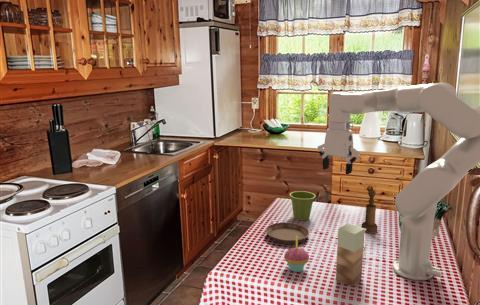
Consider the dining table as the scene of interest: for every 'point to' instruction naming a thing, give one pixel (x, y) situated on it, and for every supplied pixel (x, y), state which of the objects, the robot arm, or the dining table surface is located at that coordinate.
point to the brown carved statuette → (370, 214)
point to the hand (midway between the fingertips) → (336, 171)
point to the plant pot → (302, 204)
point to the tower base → (348, 274)
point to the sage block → (351, 237)
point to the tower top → (349, 257)
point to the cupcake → (296, 258)
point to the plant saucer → (287, 232)
